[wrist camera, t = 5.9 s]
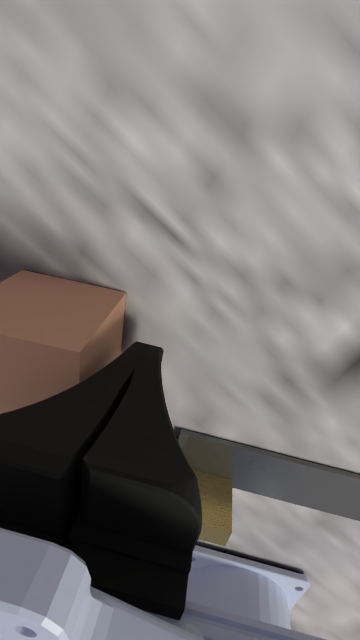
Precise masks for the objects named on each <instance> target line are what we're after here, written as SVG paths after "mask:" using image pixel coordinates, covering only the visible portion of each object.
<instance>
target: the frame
mask: <svg viewBox="0 0 360 640" xmlns="http://www.w3.org/2000/svg"><path fill="white" fill-rule="evenodd" d="M178 442H179V444H180V447H181V449H182V451H183V453H184V455H185V457H186V459H187V461H188V463H189V465H190V466H191V468H192V470H193V472H194V473H195V475H196V477H197V480H198V485H199V491H200V497H201V505H202V529H201V533H200V535H199V538H198V539H200V540H204V541H208V542H211V543H215V544H219V545H223V546H225V545H226V543H227V541H228V539H229V537H230V535H231V533H232V488H236V489H240V490H244V491H248V492H251V493H255V494H259V495H263V496H267V497H270V498H274V499H278V500H282V501H286V502H289V503H293V504H297V505H301V506H305V507H308V508H312V509H316V510H320V511H324V512H327V513H331V514H335V515H339V516H343V517H346V518H350V519H354V520H358V521H360V475H359V474H355V473H352V472H348V471H344V470H340V469H336V468H332V467H328V466H324V465H320V464H316V463H313V462H309V461H305V460H301V459H297V458H293V457H289V456H285V455H281V454H278V453H274V452H270V451H266V450H262V449H258V448H254V447H250V446H246V445H242V444H239V443H235V442H231V441H227V440H223V439H219V438H215V437H211V436H207V435H203V434H200V433H196V432H192V431H188V430H184V429H181V431H180V435H179V439H178Z"/></svg>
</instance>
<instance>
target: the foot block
mask: <svg viewBox="0 0 360 640" xmlns="http://www.w3.org/2000/svg"><path fill="white" fill-rule="evenodd" d="M125 301H126V292H122V291H117V290H113V289H108V288H103V287H99V286H94V285H90V284H85V283H81V282H76V281H71V280H67V279H62V278H58V277H53V276H49V275H44V274H40V273H35V272H30V271H26V270H21V271H20V272H18V273H16V274H14V275H12V276H11V277H9V278H7V279H5V280H4V281H2V282H0V414H2V413H6V412H9V411H13V410H16V409H19V408H22V407H25V406H28V405H31V404H34V403H37V402H39V401H42V400H45V399H47V398H49V397H52V396H54V395H56V394H59V393H61V392H63V391H65V390H67V389H69V388H71V387H73V386H75V385H77V384H78V383H80V382H82V381H84V380H85V379H87V378H89V377H90V376H92V375H93V374H95V373H96V372H98V371H99V370H101V369H102V368H104V367H105V366H106V365H108V364H109V363H110V362H112V361H113V360H114V359H116V358H117V357H118V356H120V355H121V345H122V334H123V323H124V312H125Z"/></svg>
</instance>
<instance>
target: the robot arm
mask: <svg viewBox="0 0 360 640" xmlns="http://www.w3.org/2000/svg"><path fill="white" fill-rule="evenodd" d="M162 356H163V349H162V348H161V347H157V346H153V345H149V344H145V343H141V342H135V343H134V344H132V345H131V346H130V347H129V348H128V349H127V350H126V351H124V352H123V353H122V354H121V355H120V356H118V357H117V358H116V359H114V360H113V361H112V362H110V363H109V364H108V365H106V366H105V367H104V368H102V369H101V370H99V371H98V372H96V373H95V374H93V375H92V376H90V377H89V378H87V379H85V380H84V381H82V382H80V383H78V384H77V385H75V386H73V387H71V388H69V389H67V390H65V391H63V392H61V393H59V394H56V395H54V396H52V397H49V398H47V399H45V400H42V401H39V402H37V403H34V404H31V405H28V406H25V407H22V408H19V409H16V410H13V411H9V412H6V413H2V414H0V640H326V639H322V638H319V637H315V636H312V635H308V634H305V633H301V632H298V631H294V630H291V626H290V617H289V611H290V610H291V608H292V607H293V606H294V605H295V604H296V602H297V601H298V600H299V599H300V598H301V596H302V595H303V594H304V593H305V591H306V590H307V589H308V588H309V587H310V581H309V578H308V577H307V576H306V575H303V574H299V573H296V572H292V571H288V570H285V569H281V568H277V567H274V566H270V565H266V564H263V563H259V562H255V561H252V560H248V559H244V558H241V557H237V556H233V555H230V554H226V553H222V552H219V551H215V550H211V549H208V548H204V547H200V546H197V545H196V543H197V540H198V538H199V535H200V533H201V529H202V505H201V497H200V491H199V485H198V480H197V477H196V475H195V473H194V472H193V470H192V468H191V466H190V465H189V463H188V461H187V459H186V457H185V455H184V453H183V451H182V449H181V447H180V444H179V442H178V439H177V437H176V434H175V432H174V429H173V427H172V424H171V421H170V418H169V414H168V411H167V407H166V403H165V398H164V393H163V386H162V377H161V361H162Z"/></svg>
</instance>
